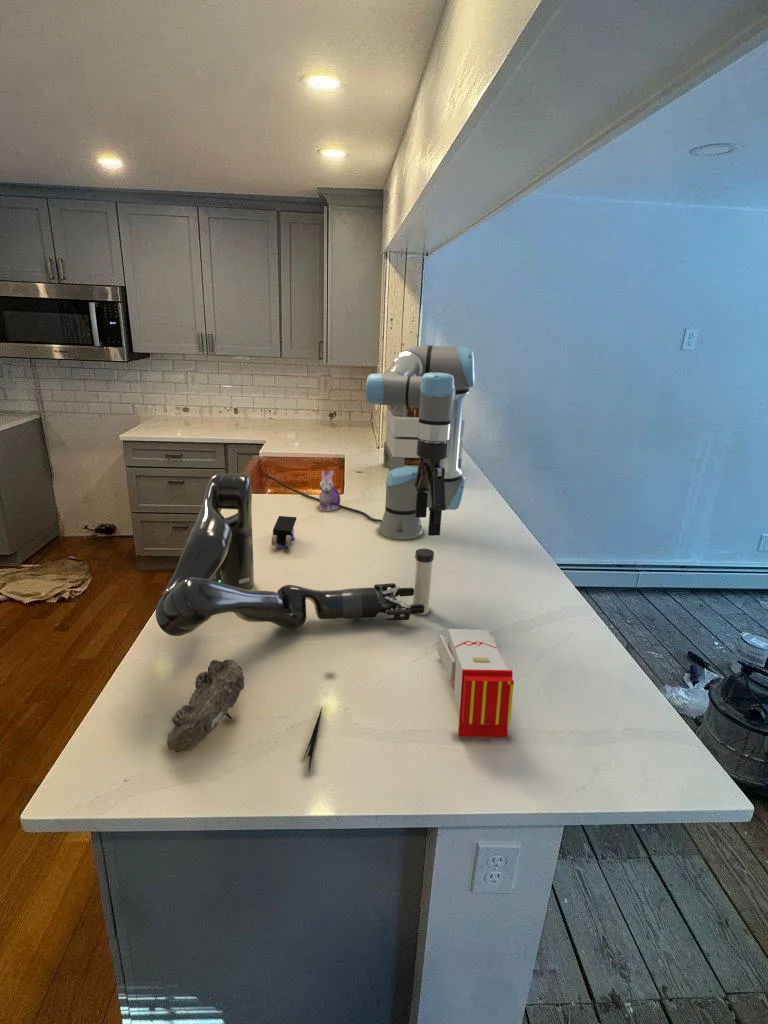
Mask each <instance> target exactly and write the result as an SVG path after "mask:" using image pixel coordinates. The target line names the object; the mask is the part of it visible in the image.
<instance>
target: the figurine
mask: <svg viewBox="0 0 768 1024" xmlns="http://www.w3.org/2000/svg"><path fill="white" fill-rule="evenodd" d="M333 477H334V470H333V469H331V470H330V471H328V473H326V471H325V470H322V471H321V481H320V482H319V489H320V492H319V495H318V496H319V498H318V499H319V501H318V502H319V506H318V507H319V510H320V511H324V512H329V511H335V510H338V509H339V508H340V507H339V506H340V505H341V495H340V492H339V491H338V489H336V488H335V484H334V482H333Z"/></svg>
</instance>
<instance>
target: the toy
mask: <svg viewBox="0 0 768 1024" xmlns="http://www.w3.org/2000/svg"><path fill="white" fill-rule="evenodd" d="M446 640H447V643H446V641H445V639H444V636H443V635H442V634H439V637H438V646H437V656H438V657H439V659H440V661H441V663H442V666H443V668H444V670H445V672H446V674H447V677H448V679H449V681H450V684H451V687H452V690H453V693H454V697H455V701H456V705H457V708H458V711H459V714H458V715H459V716H458V730H457V731H458V732H457V737H458V738H508V731H509V726H510V725H511V717H512V707H513V697H514V696H513V695H514V684H515V680H514V679H513V673H514V671H513V670H512V669H508V667H507V665H506V662H505V661H504V659H503V658H502V655H501V653H500V651H499V649H498V647H497V643H496V639H495V637H494V635H493V634H491V632H490V631H489V629H467V628H466V629H465V628H463V629H461V628H460V629H459V628H448V630H447V639H446Z"/></svg>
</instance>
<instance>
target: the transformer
mask: <svg viewBox="0 0 768 1024" xmlns="http://www.w3.org/2000/svg"><path fill="white" fill-rule="evenodd" d="M385 414H386V415H385V423H386V428H385V438H384V442H383V466H384V467H388V468H389V472H390V471H391V470H393V469H396V468H400V467H405V466H406V467H418V465H419V456H418V455H417V441H418V440H420V439H419V438H418V437H417V436H418V421H419V414H420V407H409V406H394V405H386V413H385ZM464 429H465V419H464V418H462V422H461V434H460V446H459V457H458V468H459V469H460V470H461V471H462V461H463V460H462V453H463V442H464V441H463V440H462V439H463V438H464V431H465V430H464Z"/></svg>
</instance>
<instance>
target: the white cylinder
mask: <svg viewBox="0 0 768 1024" xmlns="http://www.w3.org/2000/svg"><path fill="white" fill-rule="evenodd" d="M433 561H434V560H433ZM433 561H431V562H420V561H417V560H416V559H415V566H414V567H415V569H414V580H413V581H414V583H413V589H414V595H413V596H412V598H413V599H412V605H420V604H423V605H424V607H425V608H424V612H423V613H421V614H419V615H422V616H423V615H426V614H428V613H429V612H430V599H431V598H430V597H431V585H432V575H433V574H432V573H433Z"/></svg>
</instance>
